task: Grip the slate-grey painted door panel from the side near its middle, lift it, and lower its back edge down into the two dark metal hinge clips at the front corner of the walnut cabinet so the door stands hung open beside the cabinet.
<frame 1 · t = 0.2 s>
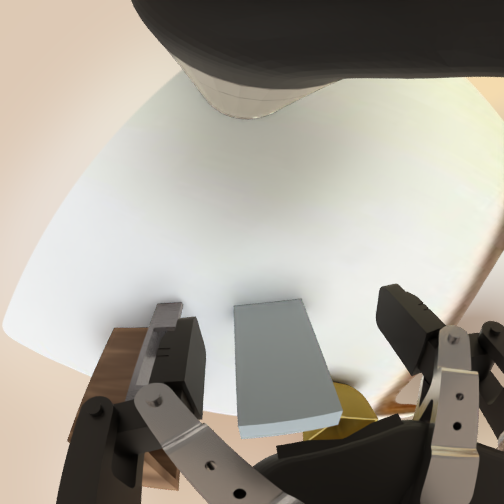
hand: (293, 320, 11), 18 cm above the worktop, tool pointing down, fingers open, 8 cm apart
door: (268, 310, 32), on the worktop
hinge clips: (176, 318, 32), on the worktop
cabinet: (152, 358, 35), on the worktop
flower pot: (327, 389, 41), on the worktop
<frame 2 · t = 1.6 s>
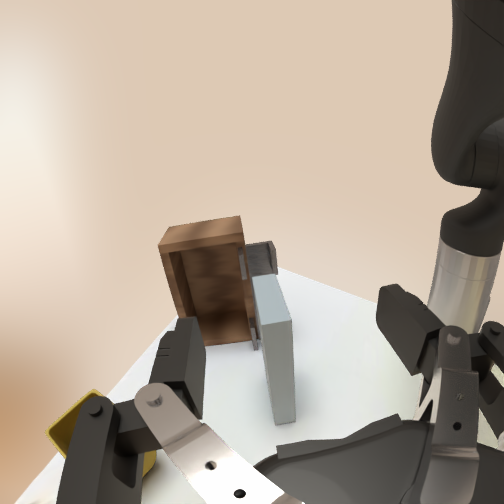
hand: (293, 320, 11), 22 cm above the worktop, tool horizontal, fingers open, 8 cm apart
door: (279, 398, 31), on the worktop
hinge clips: (267, 342, 41), on the worktop
cabinet: (223, 328, 46), on the worktop
flower pot: (129, 467, 22), on the worktop
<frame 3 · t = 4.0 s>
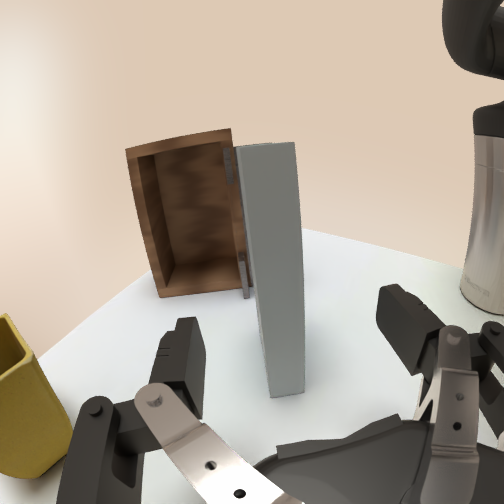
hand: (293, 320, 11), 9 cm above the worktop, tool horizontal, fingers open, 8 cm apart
door: (279, 358, 21), on the worktop
hinge clips: (263, 290, 31), on the worktop
cabinet: (206, 277, 36), on the worktop
flower pot: (45, 445, 12), on the worktop
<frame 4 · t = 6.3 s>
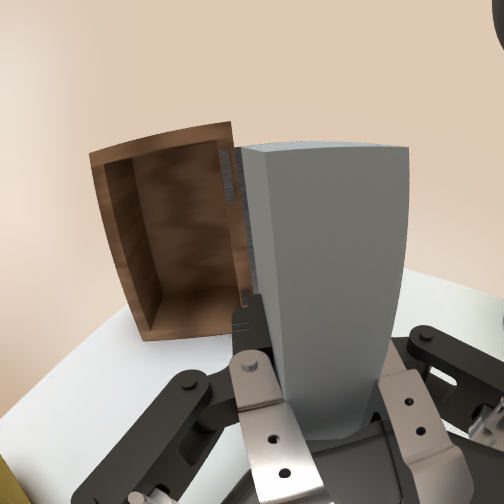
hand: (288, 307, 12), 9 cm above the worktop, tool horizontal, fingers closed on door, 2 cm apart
door: (299, 441, 14), on the worktop, touching gripper
hinge clips: (274, 335, 24), on the worktop
cabinet: (201, 313, 28), on the worktop
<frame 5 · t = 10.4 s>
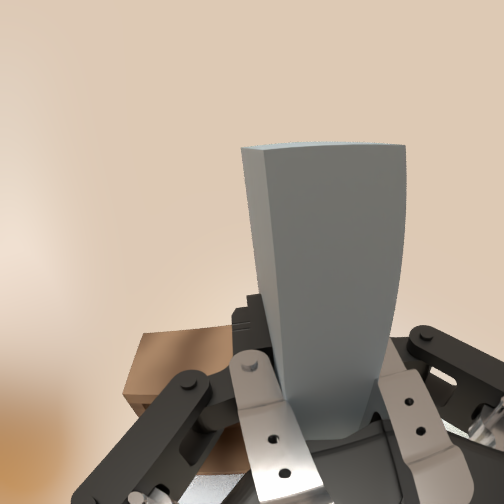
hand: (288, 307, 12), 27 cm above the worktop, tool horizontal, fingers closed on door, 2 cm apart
door: (299, 442, 13), point 18 cm above the worktop, touching gripper
cabinet: (231, 448, 28), on the worktop
when the fingers open (10 cm above the worktop, at t = 14.3 s): door drops 1 cm, on the worktop.
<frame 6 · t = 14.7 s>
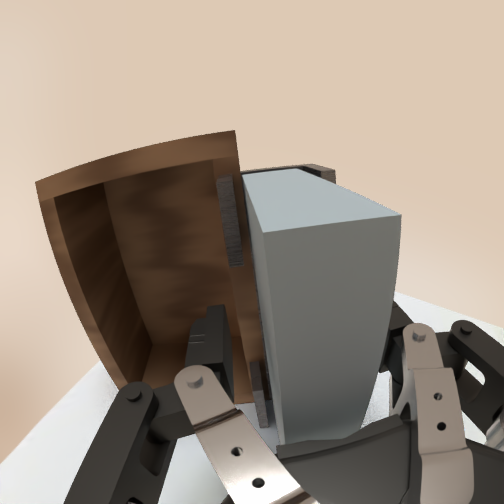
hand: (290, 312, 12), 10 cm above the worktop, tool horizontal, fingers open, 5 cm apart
door: (299, 449, 14), on the worktop
hinge clips: (290, 409, 17), on the worktop
cabinet: (198, 371, 22), on the worktop
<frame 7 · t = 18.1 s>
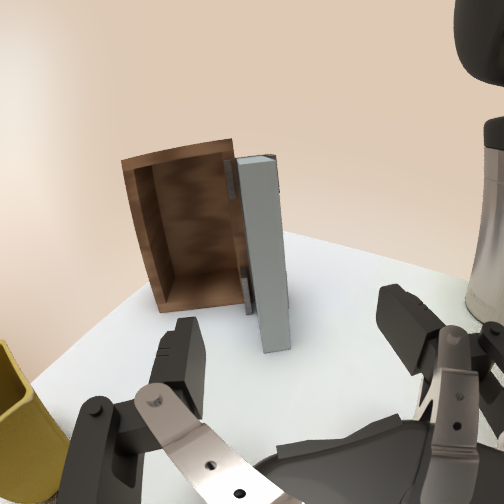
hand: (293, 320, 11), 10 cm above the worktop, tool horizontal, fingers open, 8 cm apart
door: (271, 325, 27), on the worktop
hinge clips: (266, 305, 30), on the worktop
cabinet: (207, 290, 35), on the worktop
flower pot: (50, 468, 11), on the worktop
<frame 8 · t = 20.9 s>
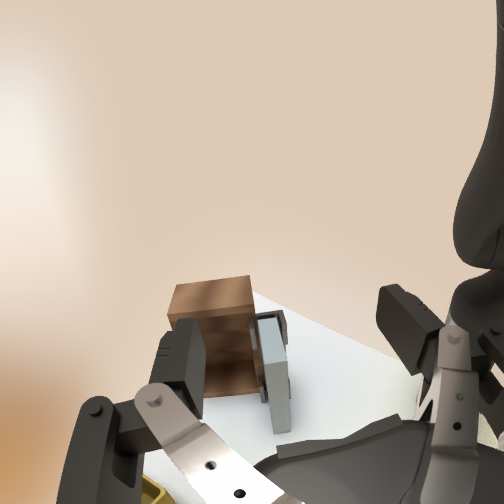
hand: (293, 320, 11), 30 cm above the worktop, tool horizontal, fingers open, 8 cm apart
door: (278, 412, 37), on the worktop
hinge clips: (275, 395, 40), on the worktop
cabinet: (231, 378, 45), on the worktop
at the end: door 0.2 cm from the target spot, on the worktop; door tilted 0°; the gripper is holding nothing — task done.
